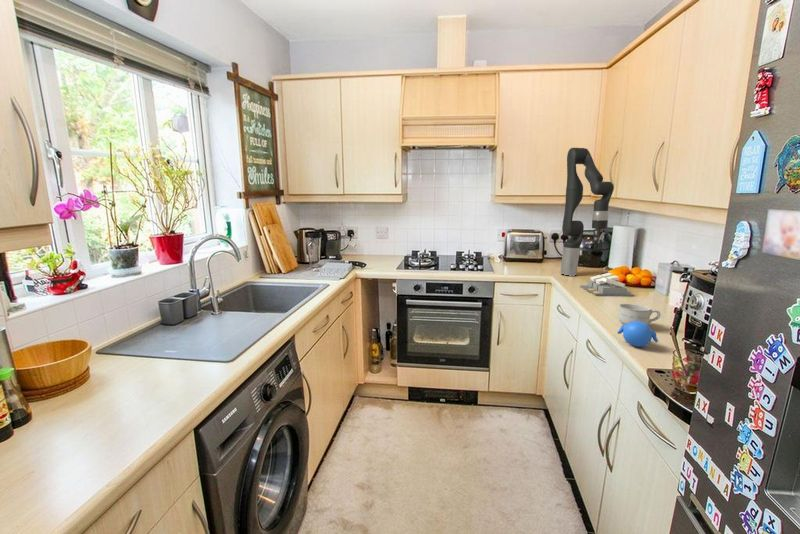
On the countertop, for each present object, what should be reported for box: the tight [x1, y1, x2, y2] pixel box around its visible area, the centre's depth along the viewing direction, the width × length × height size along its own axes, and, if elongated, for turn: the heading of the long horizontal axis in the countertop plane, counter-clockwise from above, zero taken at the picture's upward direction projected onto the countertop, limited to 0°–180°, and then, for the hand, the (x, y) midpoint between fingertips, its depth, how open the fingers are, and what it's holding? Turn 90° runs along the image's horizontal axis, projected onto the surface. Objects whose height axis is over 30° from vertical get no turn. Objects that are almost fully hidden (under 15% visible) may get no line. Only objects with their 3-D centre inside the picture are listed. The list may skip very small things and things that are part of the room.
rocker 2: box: [596, 275, 620, 284], centre depth 200 cm, size 4×10×2 cm, turn 91°
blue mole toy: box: [617, 321, 659, 348], centre depth 133 cm, size 12×12×8 cm
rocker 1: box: [589, 272, 613, 282], centre depth 205 cm, size 4×10×2 cm, turn 91°
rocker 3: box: [602, 277, 626, 287], centre depth 195 cm, size 4×10×2 cm, turn 91°
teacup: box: [617, 303, 662, 326], centre depth 150 cm, size 14×11×8 cm
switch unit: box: [579, 279, 635, 297], centre depth 201 cm, size 17×19×5 cm
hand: (597, 249), depth 211 cm, fingers open, 8 cm apart
